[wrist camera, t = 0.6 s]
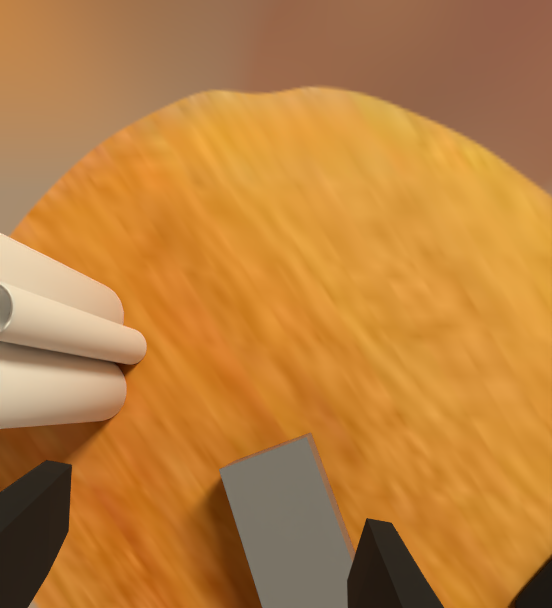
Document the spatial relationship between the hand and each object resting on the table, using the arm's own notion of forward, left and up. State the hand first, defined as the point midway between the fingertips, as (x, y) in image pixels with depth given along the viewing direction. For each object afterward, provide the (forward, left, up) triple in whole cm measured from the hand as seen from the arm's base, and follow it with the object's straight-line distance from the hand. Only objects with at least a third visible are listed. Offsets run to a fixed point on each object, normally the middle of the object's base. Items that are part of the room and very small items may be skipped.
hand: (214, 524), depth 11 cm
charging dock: (-10, +2, -23) cm, 25 cm away
